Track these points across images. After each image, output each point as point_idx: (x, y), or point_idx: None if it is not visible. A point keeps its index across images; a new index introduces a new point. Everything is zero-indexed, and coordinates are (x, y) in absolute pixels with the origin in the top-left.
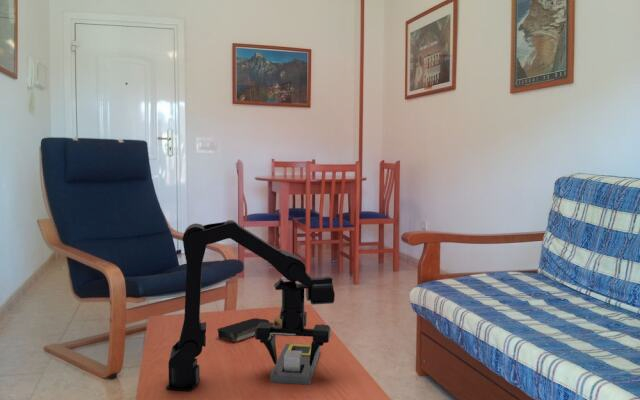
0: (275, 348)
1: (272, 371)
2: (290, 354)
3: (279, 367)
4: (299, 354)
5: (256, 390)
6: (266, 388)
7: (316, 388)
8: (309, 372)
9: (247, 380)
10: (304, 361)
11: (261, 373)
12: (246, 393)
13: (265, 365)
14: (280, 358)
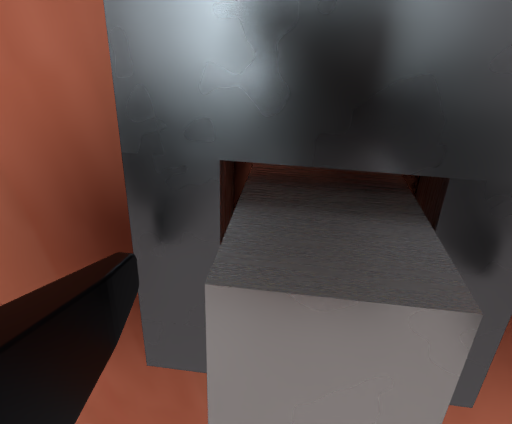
0: (18, 375)
1: (145, 318)
2: (286, 412)
3: (183, 248)
4: (422, 421)
5: (118, 397)
6: (166, 381)
7: (491, 395)
8: (480, 340)
9: (12, 293)
10: (457, 78)
11: (53, 189)
12: (81, 418)
13: (13, 12)
14: (128, 1)
